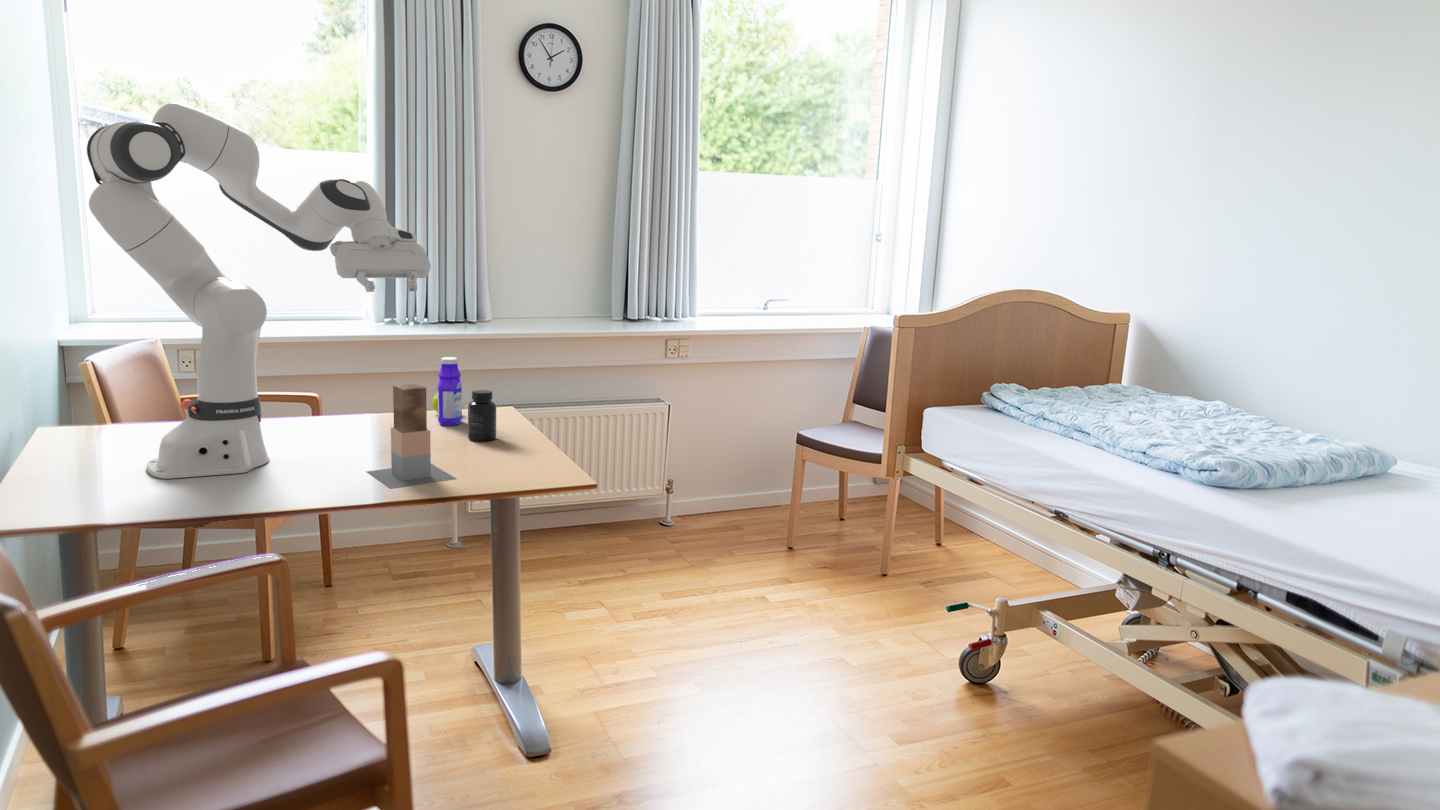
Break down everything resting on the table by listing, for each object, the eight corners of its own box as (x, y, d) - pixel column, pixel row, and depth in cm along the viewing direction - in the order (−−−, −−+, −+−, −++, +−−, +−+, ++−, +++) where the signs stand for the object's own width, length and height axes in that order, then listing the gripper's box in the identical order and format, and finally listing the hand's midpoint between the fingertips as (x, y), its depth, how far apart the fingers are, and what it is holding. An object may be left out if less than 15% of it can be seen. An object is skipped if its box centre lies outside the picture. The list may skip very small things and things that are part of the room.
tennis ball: (457, 417, 248) (457, 393, 246) (431, 417, 246) (431, 393, 245) (458, 412, 254) (458, 388, 253) (433, 412, 253) (433, 388, 251)
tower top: (402, 457, 187) (401, 433, 186) (391, 450, 192) (390, 427, 191) (430, 453, 191) (430, 430, 190) (419, 447, 195) (418, 424, 194)
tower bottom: (402, 480, 188) (402, 457, 187) (391, 473, 193) (391, 450, 192) (430, 476, 192) (430, 453, 191) (419, 469, 196) (419, 447, 195)
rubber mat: (390, 490, 183) (390, 488, 183) (365, 473, 193) (365, 471, 193) (456, 480, 192) (456, 478, 192) (430, 464, 202) (430, 463, 202)
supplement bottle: (501, 439, 227) (502, 392, 224) (477, 443, 222) (477, 395, 220) (486, 434, 231) (486, 387, 229) (462, 438, 226) (462, 390, 224)
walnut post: (403, 432, 187) (402, 389, 185) (393, 427, 191) (393, 385, 189) (426, 430, 190) (426, 387, 188) (417, 425, 194) (416, 383, 192)
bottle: (456, 426, 237) (456, 360, 234) (434, 425, 237) (434, 359, 234) (464, 420, 244) (464, 356, 241) (443, 419, 244) (443, 355, 241)
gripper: (330, 231, 198) (347, 280, 193) (422, 234, 211) (440, 280, 206) (325, 251, 203) (341, 299, 197) (415, 252, 216) (432, 298, 210)
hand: (392, 289), depth 202 cm, fingers open, 8 cm apart
